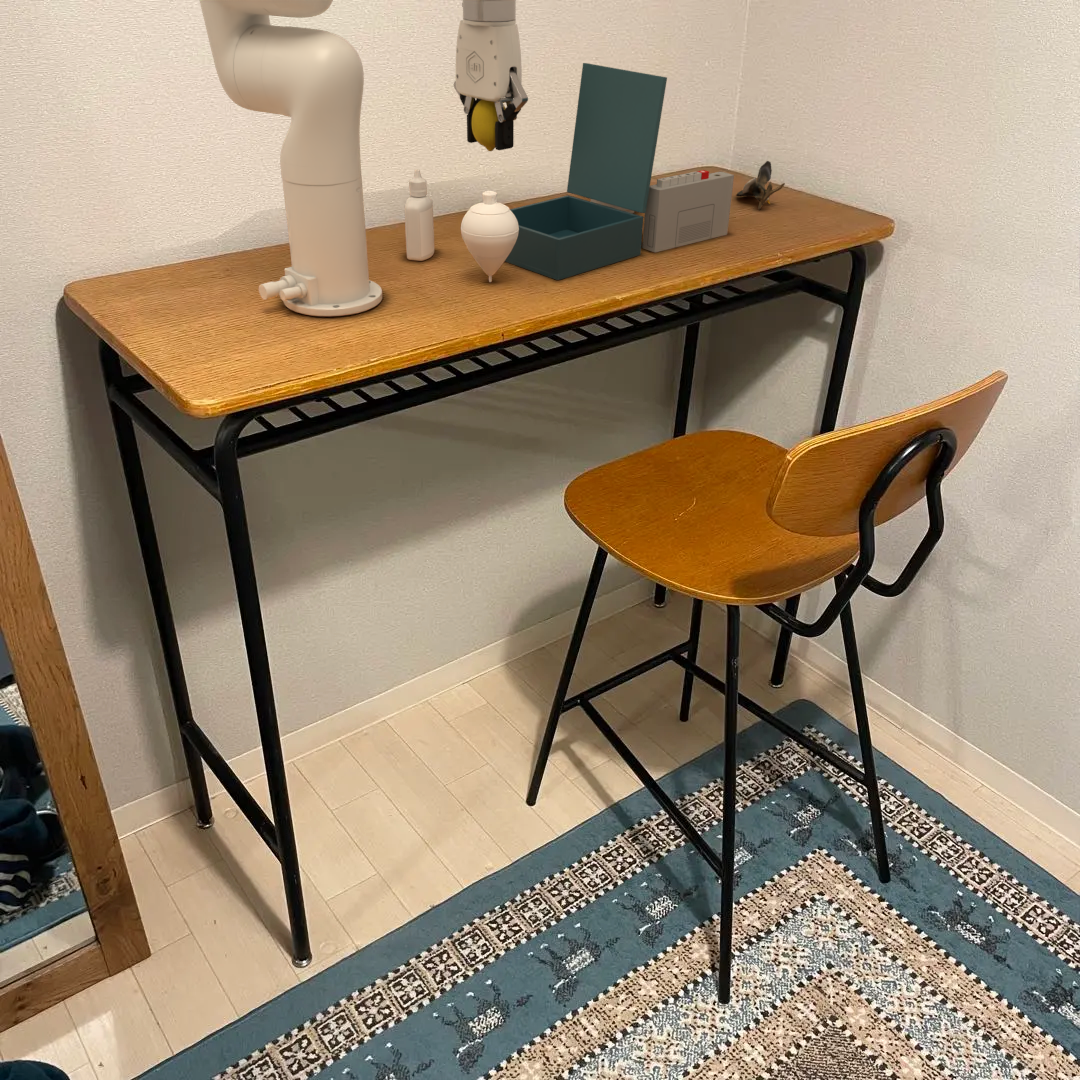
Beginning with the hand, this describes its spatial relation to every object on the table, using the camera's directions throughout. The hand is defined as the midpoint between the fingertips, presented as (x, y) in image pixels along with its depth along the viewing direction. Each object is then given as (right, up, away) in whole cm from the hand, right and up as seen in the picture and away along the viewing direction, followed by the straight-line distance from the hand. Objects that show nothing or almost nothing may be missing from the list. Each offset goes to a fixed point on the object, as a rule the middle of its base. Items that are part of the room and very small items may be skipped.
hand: (490, 143), depth 158 cm
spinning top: (+1, -25, -16) cm, 30 cm away
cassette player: (+30, -14, +2) cm, 33 cm away
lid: (+18, -2, -8) cm, 20 cm away
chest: (+11, -18, -5) cm, 22 cm away
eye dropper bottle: (-10, -19, -7) cm, 22 cm away
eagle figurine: (+45, -3, +20) cm, 49 cm away
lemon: (0, -1, +1) cm, 1 cm away
